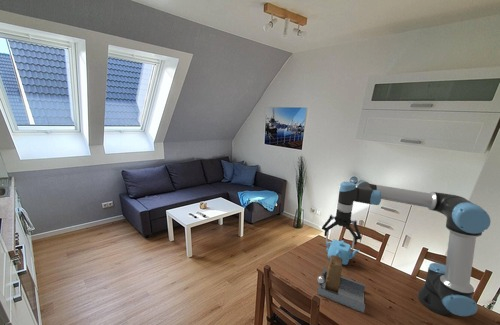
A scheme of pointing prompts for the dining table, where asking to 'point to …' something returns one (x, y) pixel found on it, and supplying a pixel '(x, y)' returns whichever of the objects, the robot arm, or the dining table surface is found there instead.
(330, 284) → the brown blocky piece
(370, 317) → the dining table surface
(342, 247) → the teapot
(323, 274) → the dock
